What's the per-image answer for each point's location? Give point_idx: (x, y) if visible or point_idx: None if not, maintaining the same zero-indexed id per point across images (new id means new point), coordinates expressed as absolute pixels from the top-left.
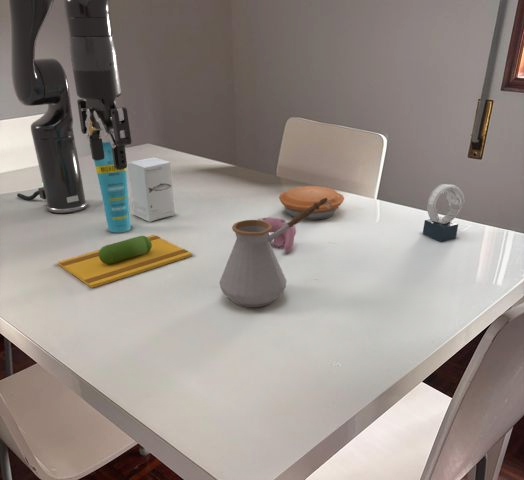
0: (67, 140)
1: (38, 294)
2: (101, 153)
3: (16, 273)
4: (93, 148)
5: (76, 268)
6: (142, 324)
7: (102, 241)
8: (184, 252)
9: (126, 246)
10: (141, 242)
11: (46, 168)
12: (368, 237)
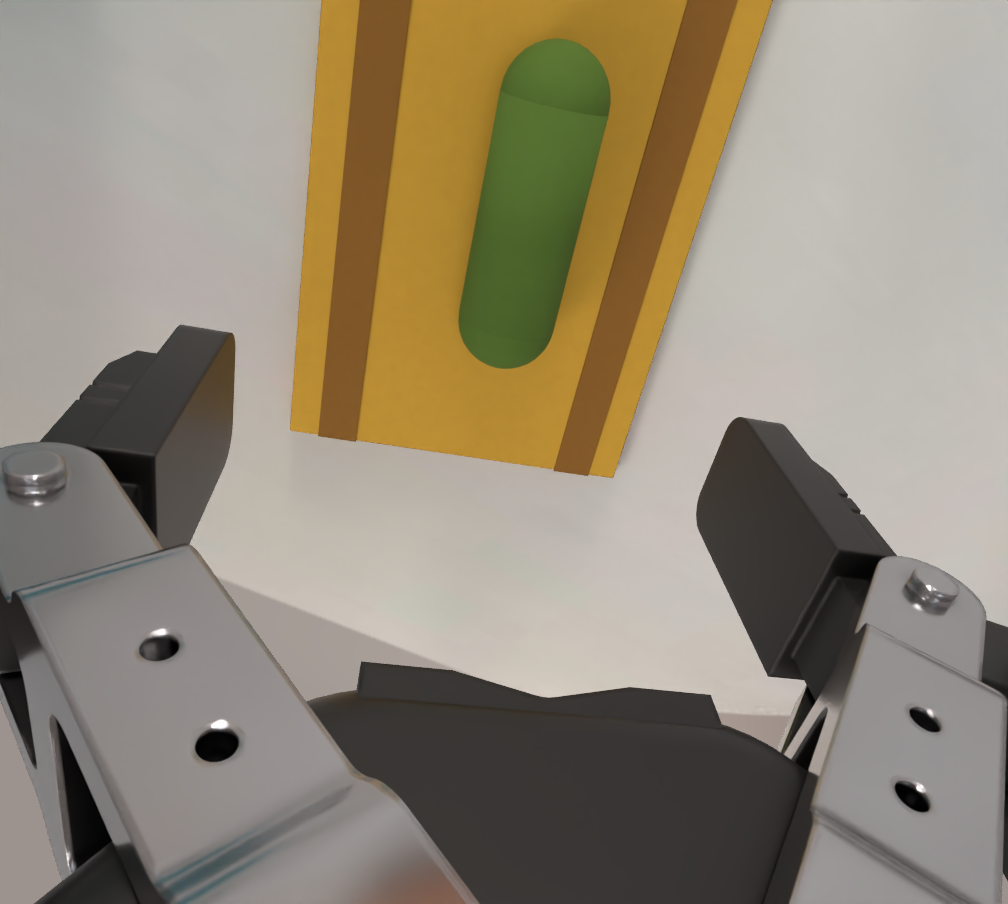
0: None
1: (486, 593)
2: (213, 385)
3: (249, 556)
4: (189, 519)
5: (424, 423)
6: (948, 524)
7: (151, 81)
8: None
9: (567, 249)
10: (592, 146)
11: None
12: None
